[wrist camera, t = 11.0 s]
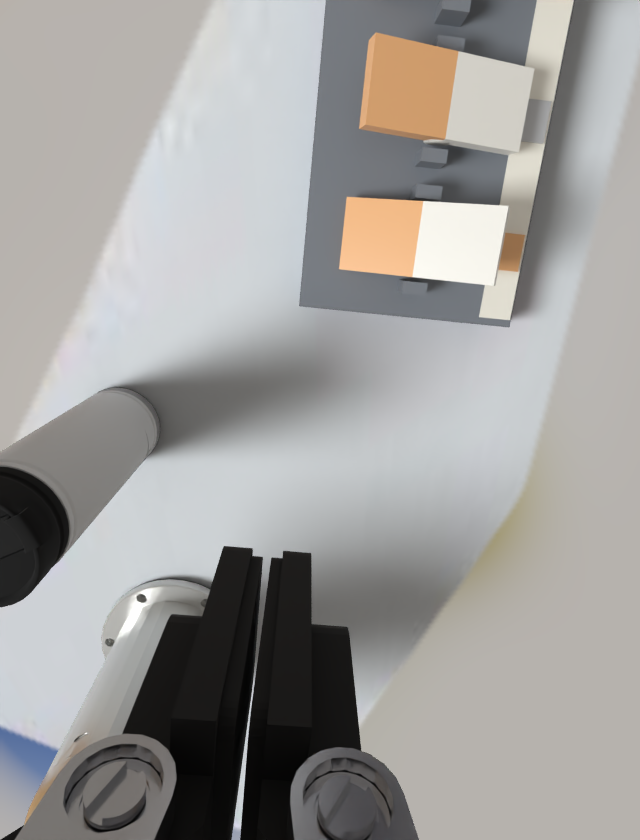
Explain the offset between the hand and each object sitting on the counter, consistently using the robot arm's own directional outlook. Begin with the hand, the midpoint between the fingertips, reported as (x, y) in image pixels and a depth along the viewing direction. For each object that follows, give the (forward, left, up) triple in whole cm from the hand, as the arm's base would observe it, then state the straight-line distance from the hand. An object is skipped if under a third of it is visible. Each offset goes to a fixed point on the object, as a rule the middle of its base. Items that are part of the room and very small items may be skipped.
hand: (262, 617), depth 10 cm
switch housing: (+18, +2, -32) cm, 37 cm away
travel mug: (-13, +8, -32) cm, 36 cm away
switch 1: (+18, +2, -27) cm, 33 cm away
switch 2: (+11, -2, -27) cm, 29 cm away
